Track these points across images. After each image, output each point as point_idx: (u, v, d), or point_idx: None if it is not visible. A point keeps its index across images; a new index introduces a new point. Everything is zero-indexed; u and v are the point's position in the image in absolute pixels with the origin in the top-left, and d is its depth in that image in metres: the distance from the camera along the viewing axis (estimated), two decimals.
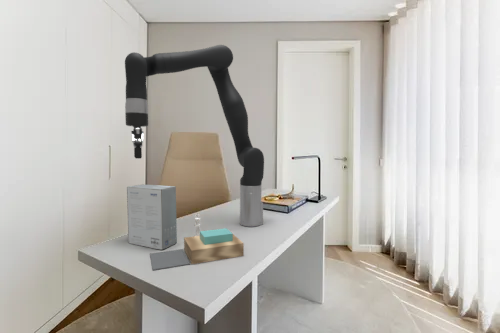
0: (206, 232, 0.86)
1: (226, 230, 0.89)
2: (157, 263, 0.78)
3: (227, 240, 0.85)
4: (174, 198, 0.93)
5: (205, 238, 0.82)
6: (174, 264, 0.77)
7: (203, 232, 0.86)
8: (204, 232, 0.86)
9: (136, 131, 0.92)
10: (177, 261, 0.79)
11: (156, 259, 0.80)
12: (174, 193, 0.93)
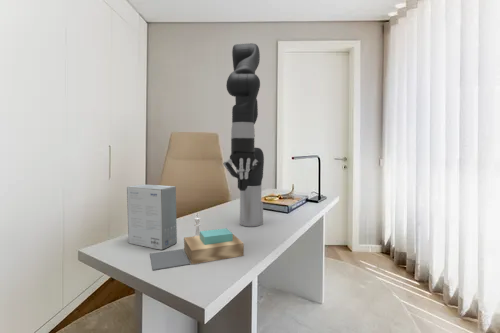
0: (206, 232, 0.86)
1: (226, 230, 0.89)
2: (157, 263, 0.78)
3: (227, 240, 0.85)
4: (174, 198, 0.93)
5: (205, 238, 0.82)
6: (174, 264, 0.77)
7: (203, 232, 0.86)
8: (204, 232, 0.86)
9: None
10: (177, 261, 0.79)
11: (156, 259, 0.80)
12: (174, 193, 0.93)
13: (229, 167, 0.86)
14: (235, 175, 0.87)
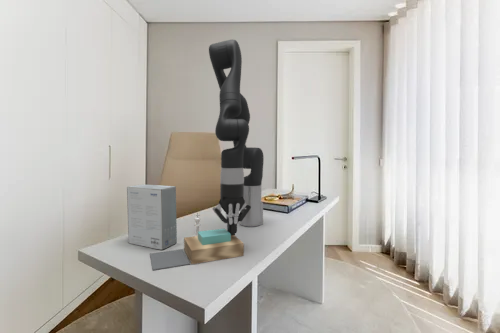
0: (204, 232, 0.86)
1: (224, 230, 0.89)
2: (157, 263, 0.78)
3: (225, 240, 0.85)
4: (174, 198, 0.93)
5: (203, 238, 0.82)
6: (174, 264, 0.77)
7: (201, 232, 0.86)
8: (202, 232, 0.86)
9: None
10: (177, 261, 0.79)
11: (156, 259, 0.80)
12: (174, 193, 0.93)
13: (218, 213, 0.85)
14: (224, 221, 0.86)
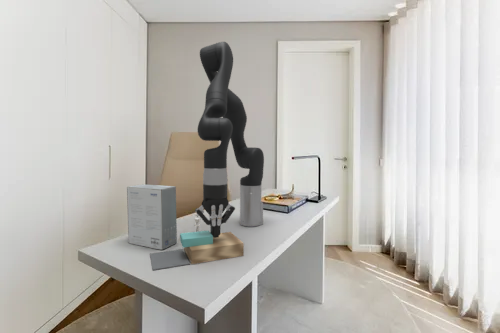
0: (186, 234, 0.84)
1: (207, 232, 0.86)
2: (157, 263, 0.78)
3: (207, 243, 0.83)
4: (174, 198, 0.93)
5: (183, 241, 0.80)
6: (174, 264, 0.77)
7: (183, 234, 0.84)
8: (184, 234, 0.84)
9: None
10: (177, 261, 0.79)
11: (156, 259, 0.80)
12: (174, 193, 0.93)
13: (200, 215, 0.83)
14: (207, 222, 0.84)
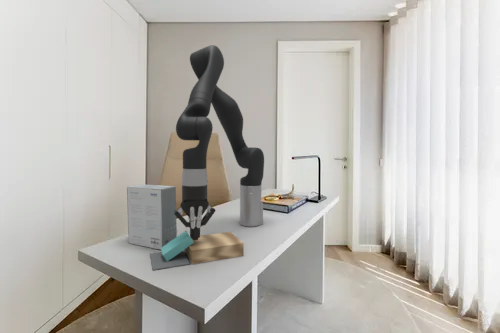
0: (166, 246, 0.83)
1: (185, 234, 0.84)
2: (157, 263, 0.78)
3: (188, 245, 0.81)
4: (174, 198, 0.93)
5: (164, 255, 0.79)
6: (174, 264, 0.77)
7: (163, 248, 0.83)
8: (164, 247, 0.83)
9: None
10: (177, 261, 0.79)
11: (156, 259, 0.80)
12: (174, 193, 0.93)
13: (179, 217, 0.80)
14: (186, 225, 0.81)
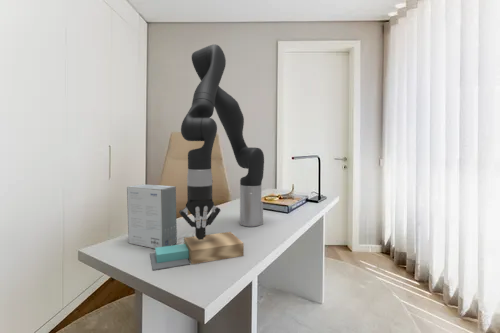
0: (162, 249, 0.82)
1: (183, 246, 0.84)
2: (157, 263, 0.78)
3: (183, 257, 0.81)
4: (174, 198, 0.93)
5: (158, 256, 0.78)
6: (174, 264, 0.77)
7: (158, 249, 0.82)
8: (159, 249, 0.82)
9: None
10: (177, 261, 0.79)
11: None
12: (174, 193, 0.93)
13: (184, 217, 0.81)
14: (191, 224, 0.82)
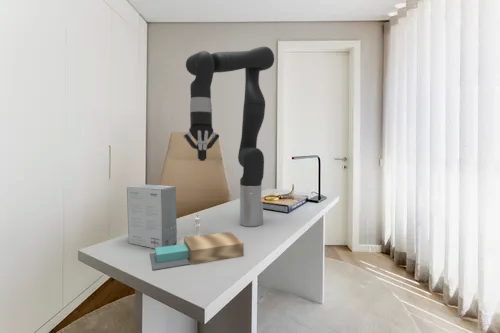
0: (162, 249, 0.82)
1: (183, 246, 0.84)
2: (157, 263, 0.78)
3: (183, 257, 0.81)
4: (174, 198, 0.93)
5: (158, 256, 0.78)
6: (174, 264, 0.77)
7: (158, 249, 0.82)
8: (159, 249, 0.82)
9: None
10: (177, 261, 0.79)
11: None
12: (174, 193, 0.93)
13: (188, 139, 0.94)
14: (194, 146, 0.95)
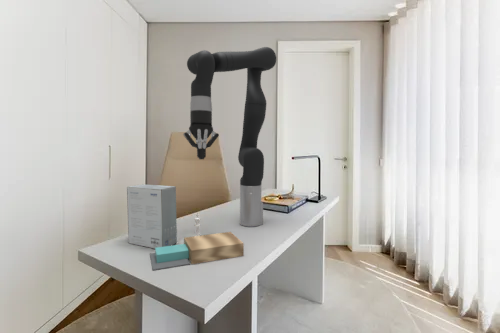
0: (162, 249, 0.82)
1: (183, 246, 0.84)
2: (157, 263, 0.78)
3: (183, 257, 0.81)
4: (174, 198, 0.93)
5: (158, 256, 0.78)
6: (174, 264, 0.77)
7: (158, 249, 0.82)
8: (159, 249, 0.82)
9: None
10: (177, 261, 0.79)
11: None
12: (174, 193, 0.93)
13: (188, 137, 0.95)
14: (194, 144, 0.96)
